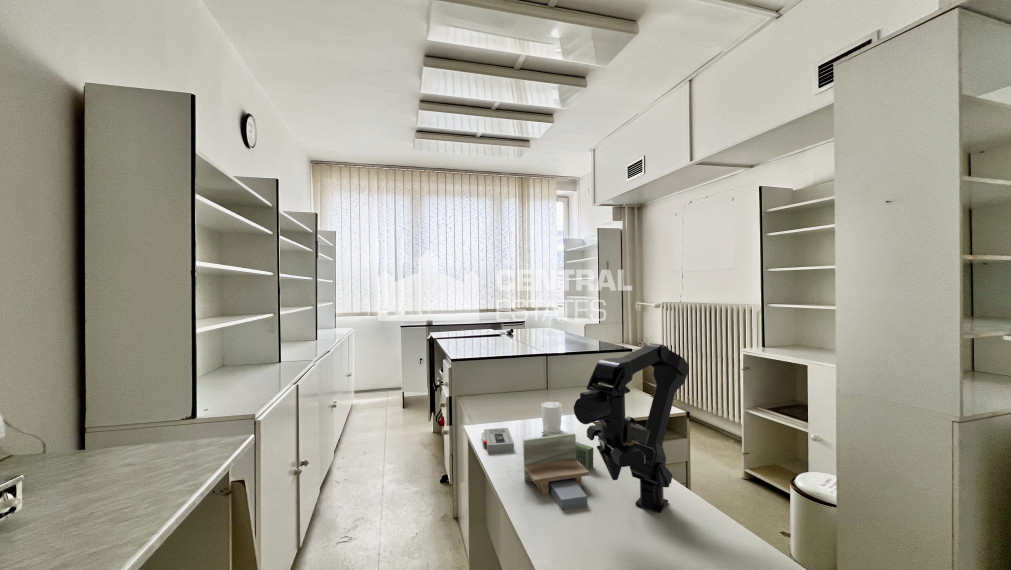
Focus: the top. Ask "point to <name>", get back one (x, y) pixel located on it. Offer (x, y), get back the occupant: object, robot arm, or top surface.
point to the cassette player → (498, 440)
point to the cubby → (552, 460)
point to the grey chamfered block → (567, 493)
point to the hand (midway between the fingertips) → (614, 479)
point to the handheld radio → (580, 453)
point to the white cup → (551, 416)
